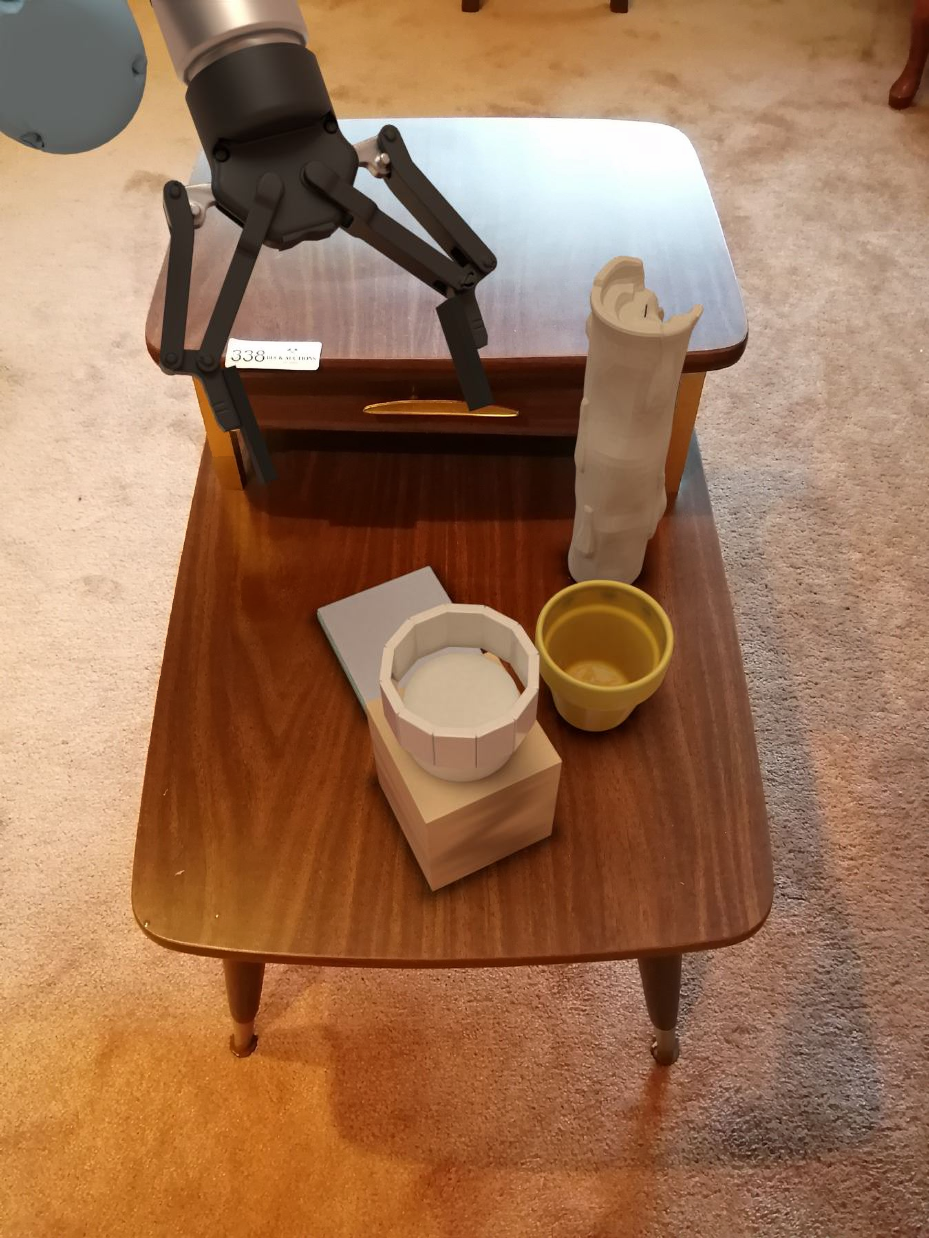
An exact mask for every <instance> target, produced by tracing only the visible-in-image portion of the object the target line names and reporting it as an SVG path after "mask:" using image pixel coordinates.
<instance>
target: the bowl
mask: <svg viewBox="0 0 929 1238" xmlns="http://www.w3.org/2000/svg"><path fill="white" fill-rule="evenodd" d="M447 647H464V648H480V649H482V650H483V651H486V652H490V653H491V654H493V655H495V656H497V657H498V658H499V659H501V660H502V661H505V662H506V663H508V664H510V666H511V668H512V669H513V671H514V673H515V674H516V676H517V678H518V679H519V681H520V682H521V684H522V686H523V687H524V691H523V692H522V693H521V696H520V697H519V693H518V691H519V689H518V687H517V684H516V683H515V681H514V678H513V677H512V676H511V674H509V672H508V671H507V669H506V668H505V667H504V668H505V669H504V668H502V667H501V666H500V665H499V664H497V663H496V662H494V661H493V660H490V659H488V658H486V657H483V656H480V655H476V654H471V653H452V654H446V655H442V656H439V657H437V658H434V659H432V660H430V661H428V662H427V663H425V664H424V665H422V666H421V667H420V668H419V669H418V670H417V671H416V672H415V673H414V674H413V675H412V676H411V678H410V679H409V681H408V683H407V685H406V687H405V690H404V692H403V698H402V700H401V698H400V696H399V695H398V693H397V691H398V683H399V682H400V680H401V679H402V678H403V677H404V676H405V674H406V673H407V672H408V671H409V670H410V668H411V667H412V666H413V665H414V664H415V662H416V661H417V660H418V659H420V658H423V657H425V656H427V655H430V654H432V653H435V652H437V651H439V650H442V649H444V648H447ZM539 664H540V656H539V652H538V651H537V649H536V648H535V644H534V643H533V642H532V640H531V639H530V637H529V635H528V634H527V632H526V631H525V629H524V628H523V626H522V624H519V622H518V621H515V619H512V618H510V617H508V616H506V615H505V614H503V613H501V612H499V611H497V610H495V609H493V608H491V607H490V606H487V605H483V604H467V603H452V604H449V603H446V605H445V604H442V605H439V606H437V607H434V608H432V609H429V610H427V611H424V612H422V613H419V614H417V615H414V616H412V617H409V619H407V620H406V621H405V622H404V623H403V625H402V626H401V627H400V628H399V629H398V630H397V632H396V633H395V634H394V635H393V636H392V637H391V638H390V640H389V641H388V642H387V643H386V644H385V647H384V648H383V655H382V662H381V670H380V677H379V683H380V690H381V697H382V703H383V710H384V716H385V718H386V720H387V722H388V724H389V726H390V728H391V729H392V731H393V733H394V735H395V737H396V739H397V741H398V743H399V745H400V746H401V747H402V748H404V749H406V750H407V751H409V752H410V754H411V755H412V757H413V758H414V760H415V761H416V762H417V763H418V765H419V766H421V767H422V768H423V769H424V770H425V771H427V772H428V773H430V774H432V775H433V776H435V777H438V778H440V779H443V780H447V781H453V782H469V781H475V780H479V779H482V778H485V777H487V776H489V775H491V774H493V773H494V772H496V771H497V770H499V769H500V768H501V767H502V766H503V765H504V764H505V763H506V762H507V761H508V759H509V758H510V756H511V755H512V753H513V751H515V750H516V749H517V748H518V746H519V745H520V743H521V742H522V741H523V739H524V738H525V736H526V735H527V734H528V732H529V731H530V729H531V728H532V727H533V725H534V724H535V721H536V720H537V711H538V703H539V702H538V700H539V693H540V692H539V690H540V672H539ZM517 689H518V690H517Z"/></svg>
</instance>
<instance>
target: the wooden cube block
mask: <svg viewBox="0 0 929 1238" xmlns="http://www.w3.org/2000/svg"><path fill="white" fill-rule="evenodd" d="M480 656H483V657H486V658H488V659H490V660H493V661H494V662H496V663H497V664H499V665H500V666H501V667H502V668H504V669H505V670H506V668H505V667H504V665H503V663H502V661H501V660H500V658H499V657H497V656H495V655H493V654H491V653H490V652H488V651H486V652H485V653H483V655H480ZM404 690H405V687H404V688H401V689H399V690H398V691H397V693H398V695H399V696H400V698H401V700H402V698H403V692H404ZM517 690H518V693H519V697H520V696H521V695H522V693H521V692H520V690H519V689H518V688H517ZM365 706H366V712H367V715H366V716H367V717H366V718H367V723H368V727H369V733H370V741H371V745H372V751H373V756H374V763H375V767H376V773H377V779H378V783H379V785H380V787H381V789H382V791H383V793H384V795H385V797H386V799H387V801H388V804H389V806H390V807H391V810H392V811H393V814H394V816H395V817H396V821H397V822H398V823H399V826H400V828H401V830H402V832H403V835H404V836H405V839H406V840H407V842H408V844H409V846H410V849H411V851H412V853H413V855H414V856H415V859H416V861H417V863H418V866H419V867H420V870H421V871H422V873H423V875H424V877H425V879H426V881H427V883H428V885H429V887H430V889H431V891H432V892H435V891H437V890H439V889H441V888H443V887H445V886H448V885H449V884H452V883H454V882H457V881H458V880H461V879H462V878H464V877H467V876H468V875H471V874H472V873H475V872H476V871H479V870H481V869H483V868H485V867H487V866H489V865H491V864H494V863H495V862H497V861H500V860H501V859H504V858H506V857H508V856H510V855H512V854H514V853H516V852H519V851H520V850H523V849H525V848H526V847H529V846H531V845H533V844H535V843H537V842H539V841H542V840H544V839H546V838H548V837H550V836H551V835H552V832H553V824H554V819H555V813H556V811H555V810H556V806H557V805H556V804H557V800H558V799H557V798H558V792H559V791H558V790H559V785H560V779H561V771H562V764H563V760H562V759H561V757H560V756H559V754H558V752H557V750H556V749H555V747H554V746H553V744H552V742H551V741H550V740H549V739H550V738H548V736H547V734H546V733H545V731H544V729H543V728H542V726H541V724H540V723H539V721H538V720H537V719H536V721H535V724H534V725H533V727H532V728H531V729H530V731H529V732H528V734H527V735H526V736H525V738H524V739H523V741H522V742H521V743H520V745H519V746H518V748H517V749H516V750H515V751H513V753H512V755H511V756H510V758H509V759H508V761H507V762H506V763H505V764H504V765H503V766H502V767H501V768H500V769H499V770H497V771H496V772H494V773H493V774H491V775H489V776H487V777H485V778H482V779H479V780H475V781H469V782H453V781H447V780H443V779H440V778H438V777H435V776H433V775H432V774H430V773H428V772H427V771H425V770H424V769H423V768H422V767H421V766H419V765H418V763H417V762H416V761H415V760H414V758H413V757H412V755H411V754H410V752H409V751H407V750H406V749H404V748H402V747H401V746H400V745H399V743H398V741H397V739H396V737H395V735H394V733H393V731H392V729H391V728H390V726H389V724H388V722H387V720H386V718H385V716H384V710H383V703H382V697H380V698H377V699H375V700H373V701H370V702H368V703H366V704H365Z"/></svg>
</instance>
